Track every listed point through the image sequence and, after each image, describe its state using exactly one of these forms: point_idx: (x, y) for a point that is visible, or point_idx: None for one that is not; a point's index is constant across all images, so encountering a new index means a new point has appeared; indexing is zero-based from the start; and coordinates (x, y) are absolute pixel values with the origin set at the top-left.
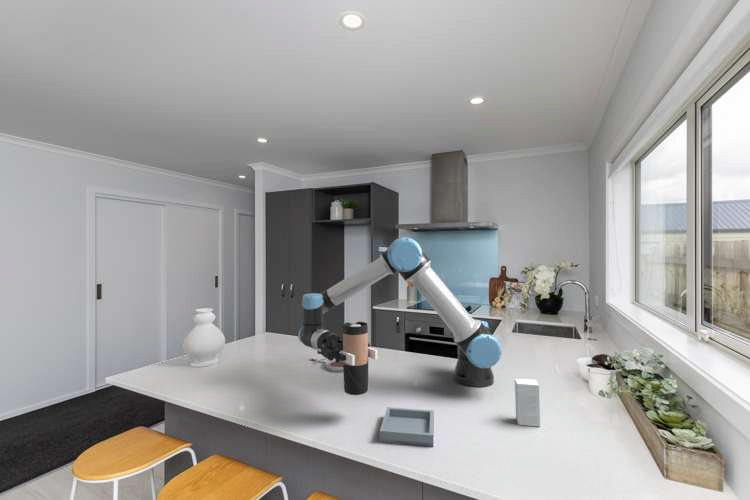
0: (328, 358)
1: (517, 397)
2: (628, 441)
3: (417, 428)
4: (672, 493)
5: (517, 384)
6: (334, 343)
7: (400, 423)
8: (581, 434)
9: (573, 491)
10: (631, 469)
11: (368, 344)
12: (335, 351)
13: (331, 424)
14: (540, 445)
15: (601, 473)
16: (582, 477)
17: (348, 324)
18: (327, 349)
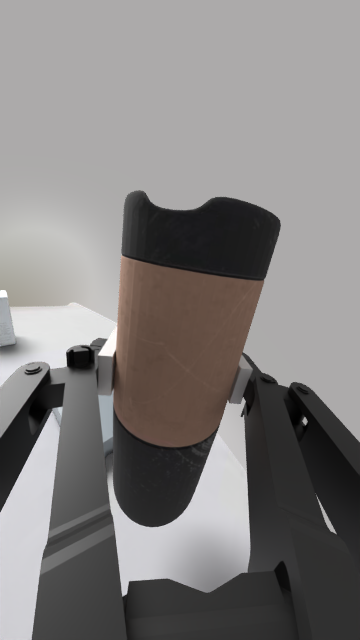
0: (306, 430)
1: (9, 314)
2: (19, 309)
3: (101, 396)
4: (81, 305)
5: (7, 298)
6: (316, 565)
7: (103, 421)
8: (18, 320)
9: (110, 320)
10: (65, 310)
11: (44, 363)
12: (277, 383)
13: (219, 556)
14: (59, 331)
15: (80, 315)
16: (92, 319)
17: (223, 220)
18: (346, 441)
